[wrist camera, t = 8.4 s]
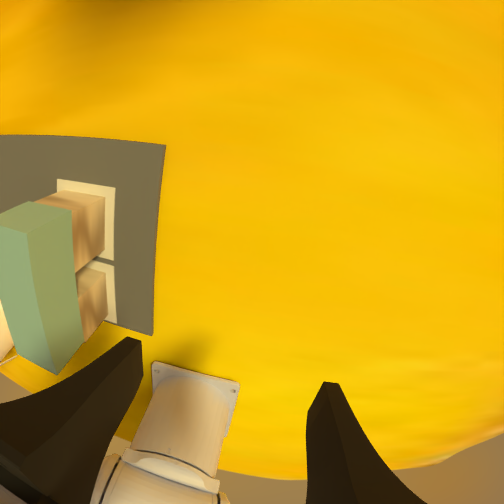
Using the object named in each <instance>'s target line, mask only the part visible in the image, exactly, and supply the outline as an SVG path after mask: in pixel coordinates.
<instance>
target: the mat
mask: <svg viewBox="0 0 504 504" xmlns="http://www.w3.org/2000/svg"><path fill="white" fill-rule="evenodd" d="M165 150H166V145H161V144H153V143H145V142H136V141H126V140H116V139H104V138H91V137H76V136H54V135H0V214H1V213H3V212H5V211H7V210H9V209H12V208H14V207H16V206H18V205H21V204H23V203H25V202H28V201H31V202H35V201H37V200H40V199H42V198H44V197H47V196H49V195H52V194H54V193H57V192H59V191H62V190H68V191H74V192H80V193H86V194H91V195H97V196H102V197H105V250H103V251H102V252H101V253H99V254H98V255H97V256H96V257H94V258H93V259H92V260H91V261H89V262H88V263H87V264H86V265H84V267H87V268H91V269H94V270H98V271H101V272H104V273H106V289H107V303H108V315H107V317H106V318H105V319H104V320H103V321H106V322H109V323H112V324H115V325H118V326H121V327H124V328H127V329H130V330H133V331H136V332H140V333H143V334H146V335H150V336H152V335H153V307H154V273H155V253H156V237H157V224H158V212H159V201H160V191H161V182H162V173H163V165H164V157H165Z"/></svg>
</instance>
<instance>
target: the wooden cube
mask: <svg viewBox="0 0 504 504" xmlns="http://www.w3.org/2000/svg"><path fill="white" fill-rule="evenodd" d="M75 277H76V287H77V295H78V303H79V310H80V316H81V323H82V329H83V334H84V340H85V341H84V343H85V342H86V341H87V340H88V338H89V337H90V336H91V335H92V334H93V332H94V331H95V330H96V329H97V327H98V326H99V325H100V324H101V323H102V321H103V320H104V319H105V318H106V317H107V315H108V303H107V289H106V273H104V272H101V271H98V270H94V269H91V268H87V267H84V266H83V267H82V268H81V269H79V270H78V271H77V272H76V273H75Z"/></svg>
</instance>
